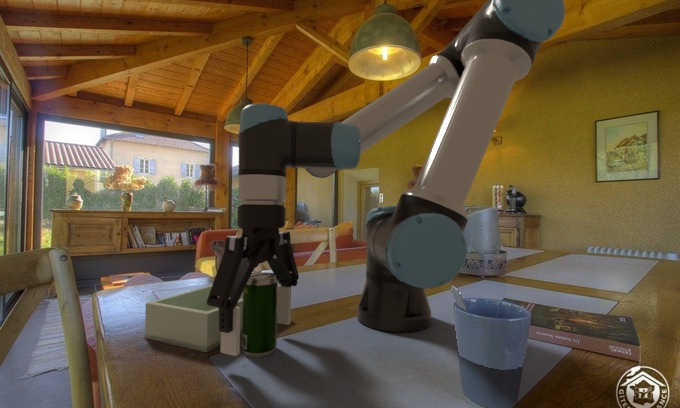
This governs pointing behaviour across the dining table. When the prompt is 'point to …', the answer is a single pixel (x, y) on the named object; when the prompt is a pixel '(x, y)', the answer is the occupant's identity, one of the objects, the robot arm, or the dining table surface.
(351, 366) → the dining table surface
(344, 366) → the dining table surface
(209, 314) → the box
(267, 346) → the beer can
